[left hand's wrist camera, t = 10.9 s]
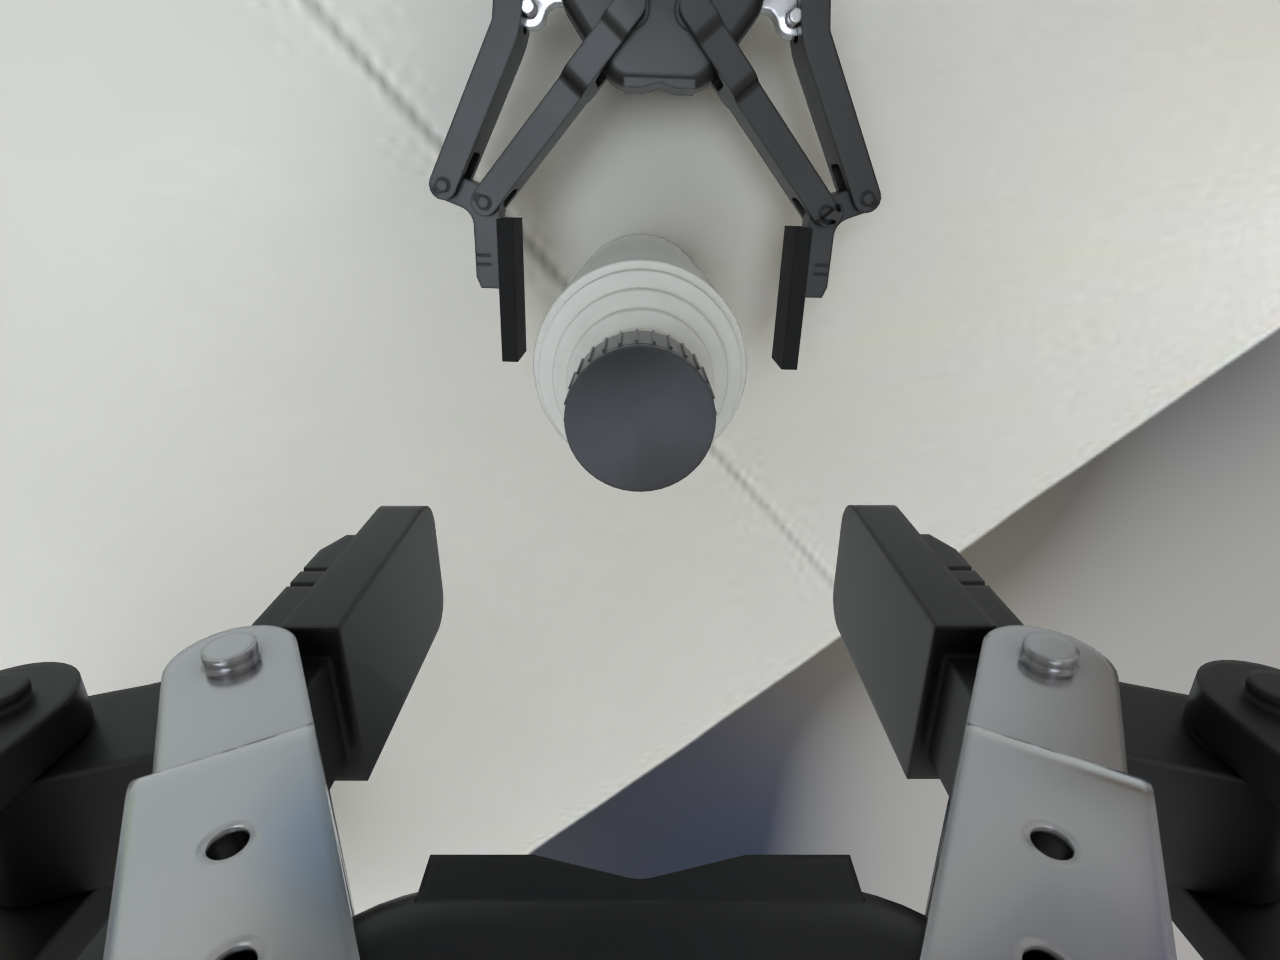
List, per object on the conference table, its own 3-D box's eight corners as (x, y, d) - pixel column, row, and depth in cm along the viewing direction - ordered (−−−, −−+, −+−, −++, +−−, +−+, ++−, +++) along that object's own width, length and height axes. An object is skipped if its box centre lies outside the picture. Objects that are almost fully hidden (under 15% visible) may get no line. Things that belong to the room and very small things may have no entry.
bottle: (565, 245, 39) (475, 301, 18) (695, 224, 39) (763, 255, 17) (589, 372, 42) (535, 555, 21) (710, 354, 42) (785, 520, 20)
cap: (557, 340, 20) (547, 357, 18) (701, 318, 20) (708, 332, 18) (583, 473, 22) (577, 503, 19) (717, 454, 21) (726, 482, 19)
